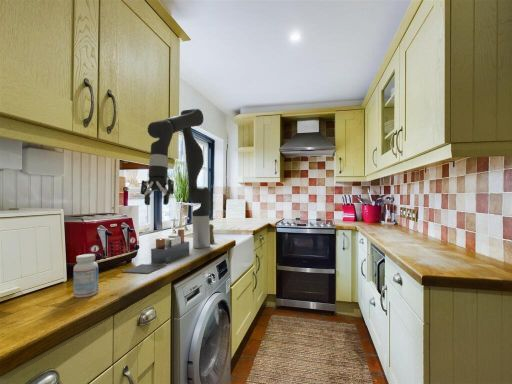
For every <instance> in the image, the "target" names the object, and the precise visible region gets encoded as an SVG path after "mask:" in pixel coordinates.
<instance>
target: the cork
mask: <svg viewBox="0 0 512 384" xmlns="http://www.w3.org/2000/svg"><path fill="white" fill-rule="evenodd" d="M209 227H210V244H214V243H215V236H214V225H213V224H210V223H209ZM213 242H214V243H213Z"/></svg>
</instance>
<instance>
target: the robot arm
mask: <svg viewBox="0 0 512 384" xmlns="http://www.w3.org/2000/svg"><path fill="white" fill-rule="evenodd" d="M203 123H204V113H203V111H202V109H199V108H187V109H182V110H181V112H180V114H179V115H175V116H171V117H169V118H166V119H160V120H154V121H151V122H150V123H149V124H148V126H147V133H148V135H149V136H150V137H151V138H154V139H158V140H155V141H153V142H151V145H150V153H149V154H150V156H149V162H148V163H149V164H148V180H141V184H140V185H141V187H140V195H142V196H144V202H143V203H144V204H145V206H150V205H151V195H152V193H154V192H155V191H157V192H158V191H161V192H162V194H163V201H162V203H163V205H165V206H167V205H168V204H169V202H170V195H174V193H175V188H174V187H175V185H174V183H175V181H174V179H170V178H168V171H169V168H168V167H169V159H168V156H169V147H170V145H171V141H172V138H173V135H174V134H175V133H178V132H180V131H182V133H183V141H184V148H185V150H184V151H185V160H186V168H187V176H188V177H187V179H188V181H187V183H188V184H187V185H188V186H187V188H188V200H189V202H190V203H191V204H198V205H199V204H200V205H199V207H198V208H197V209H194V210H192V217H191V218H192V220H191V221H192V248H195V249H205V248H209V247H210V246H211V243H210V227H209V224H210V209H211V206H210V205H211V192H210V191H211V190H210V189H209V187H207V186H198V177H199V175H200V172H201V170H202V169H203V166H204V162H205V161H204V160H205V159H204V153H203V149H202V147H201V145H200V144H199V143H198V141H197V140H196V139H195V137H194V135H193V132H192V131H193V130H192V128H193V127H200V126H202V124H203ZM167 178H168V179H167Z"/></svg>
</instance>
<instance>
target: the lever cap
mask: <svg viewBox="0 0 512 384" xmlns="http://www.w3.org/2000/svg"><path fill="white" fill-rule="evenodd" d="M163 239H165V247H172V246H175V245H178V244H181V237H179V235H178V234H172V235H171V234H170V235H168V236H167V237H164V238H163Z"/></svg>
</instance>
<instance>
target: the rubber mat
mask: <svg viewBox="0 0 512 384" xmlns="http://www.w3.org/2000/svg"><path fill="white" fill-rule="evenodd" d="M164 267H166V264H148V263H147V264H143V263H142V264H139V265H136V266H133V267H130V268H128V269H125V270H122V271H121V273H124V274H139V275H142V274H144V275H149V274H152V273H154V272H155V271H158V270H160V269H163V268H164Z"/></svg>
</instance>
